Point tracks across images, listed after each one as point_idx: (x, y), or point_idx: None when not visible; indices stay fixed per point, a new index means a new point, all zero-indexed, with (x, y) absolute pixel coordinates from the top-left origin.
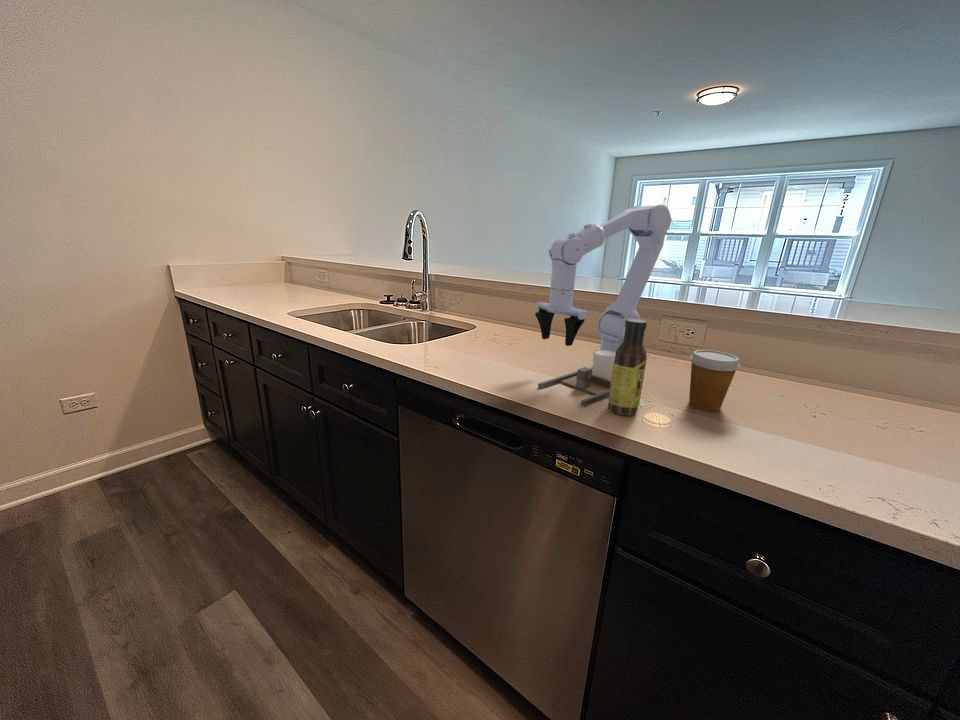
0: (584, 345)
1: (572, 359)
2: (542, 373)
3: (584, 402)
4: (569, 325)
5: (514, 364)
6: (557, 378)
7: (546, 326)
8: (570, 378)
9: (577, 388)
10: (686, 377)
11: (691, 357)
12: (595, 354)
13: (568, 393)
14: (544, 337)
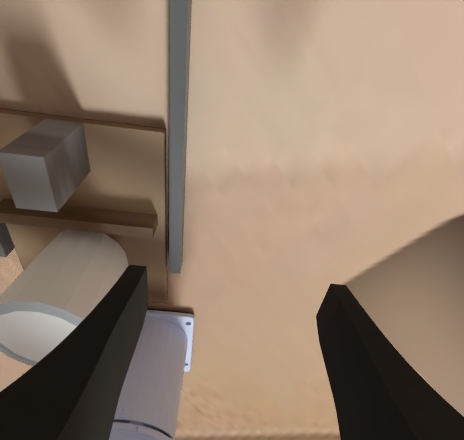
0: (309, 416)
1: (279, 335)
2: (288, 171)
3: None
4: (5, 411)
5: (444, 178)
6: (173, 124)
7: (354, 382)
8: (158, 184)
9: (75, 118)
10: (14, 380)
11: None
12: (58, 306)
13: (56, 37)
14: (333, 296)
